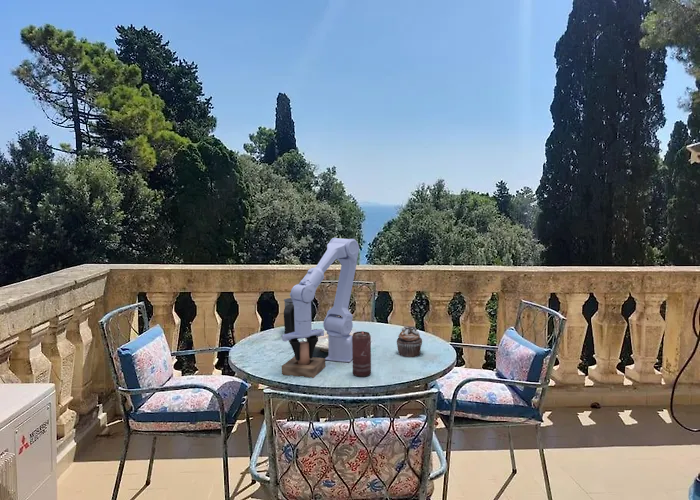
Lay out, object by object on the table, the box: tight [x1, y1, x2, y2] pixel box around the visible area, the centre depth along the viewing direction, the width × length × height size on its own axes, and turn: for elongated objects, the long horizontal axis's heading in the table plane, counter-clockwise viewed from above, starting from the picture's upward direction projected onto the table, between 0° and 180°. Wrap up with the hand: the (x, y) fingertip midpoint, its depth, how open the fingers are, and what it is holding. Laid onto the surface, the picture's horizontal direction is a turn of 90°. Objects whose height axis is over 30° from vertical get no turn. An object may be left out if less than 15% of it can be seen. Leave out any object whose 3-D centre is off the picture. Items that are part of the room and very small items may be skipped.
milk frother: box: [283, 297, 318, 334], centre depth 224 cm, size 14×16×15 cm
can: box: [352, 330, 372, 378], centre depth 174 cm, size 6×6×14 cm
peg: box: [298, 340, 310, 365], centre depth 178 cm, size 4×4×8 cm
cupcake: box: [396, 326, 423, 358], centre depth 195 cm, size 10×10×10 cm
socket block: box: [281, 355, 326, 379], centre depth 178 cm, size 11×11×3 cm
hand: (303, 358), depth 178 cm, fingers closed on peg, 4 cm apart
